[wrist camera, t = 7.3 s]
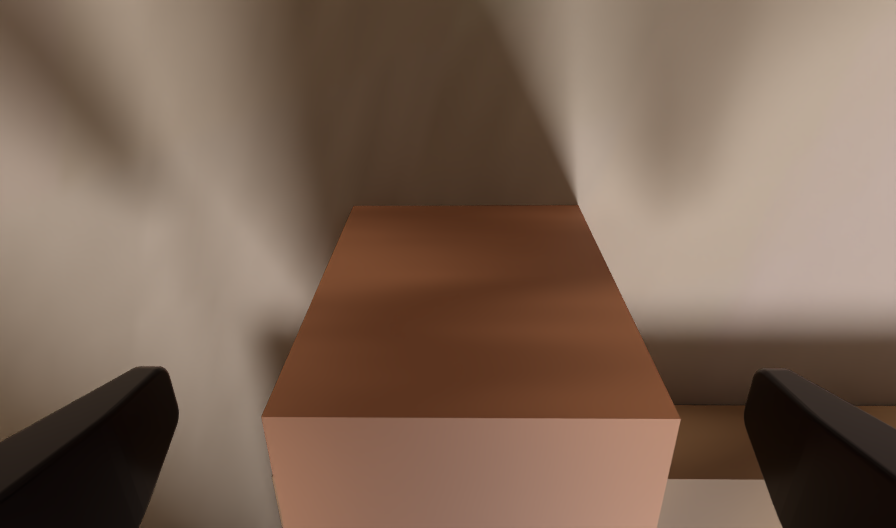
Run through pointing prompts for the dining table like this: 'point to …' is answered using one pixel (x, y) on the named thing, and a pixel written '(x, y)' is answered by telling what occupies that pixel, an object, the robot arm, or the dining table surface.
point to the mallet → (469, 380)
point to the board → (719, 471)
